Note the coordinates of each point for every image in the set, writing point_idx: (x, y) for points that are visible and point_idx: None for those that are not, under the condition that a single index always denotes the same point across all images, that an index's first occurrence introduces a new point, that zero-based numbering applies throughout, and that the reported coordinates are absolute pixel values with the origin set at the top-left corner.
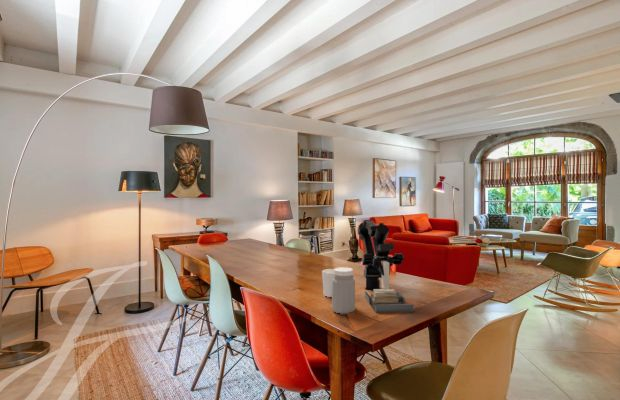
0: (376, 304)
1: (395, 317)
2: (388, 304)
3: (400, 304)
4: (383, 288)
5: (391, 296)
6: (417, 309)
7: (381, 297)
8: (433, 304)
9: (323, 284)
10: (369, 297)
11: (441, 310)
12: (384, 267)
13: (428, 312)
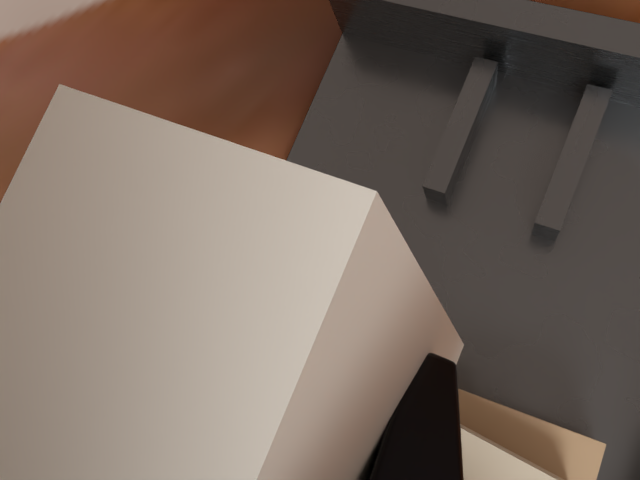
0: (607, 368)
1: (592, 6)
2: (632, 47)
3: (474, 4)
4: None
5: None
6: (227, 117)
7: (491, 402)
8: (4, 173)
9: None
10: None
11: (73, 30)
12: (418, 269)
13: (201, 24)
